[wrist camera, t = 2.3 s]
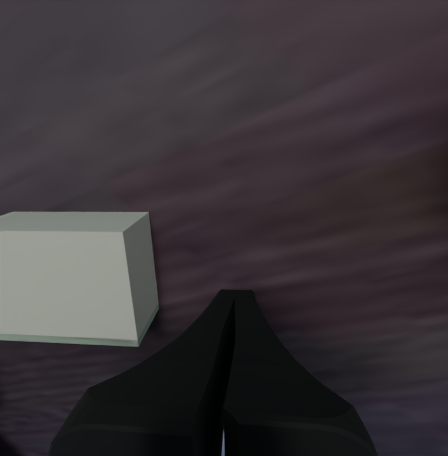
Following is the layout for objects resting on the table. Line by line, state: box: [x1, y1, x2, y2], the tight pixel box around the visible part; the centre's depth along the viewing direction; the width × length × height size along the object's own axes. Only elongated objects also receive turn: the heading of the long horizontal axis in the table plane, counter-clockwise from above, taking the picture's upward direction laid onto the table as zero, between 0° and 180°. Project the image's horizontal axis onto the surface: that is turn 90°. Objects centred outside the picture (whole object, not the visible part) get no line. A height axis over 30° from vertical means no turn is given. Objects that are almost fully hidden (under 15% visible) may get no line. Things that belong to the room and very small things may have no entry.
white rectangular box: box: [0, 212, 159, 347], centre depth 16 cm, size 6×8×4 cm
